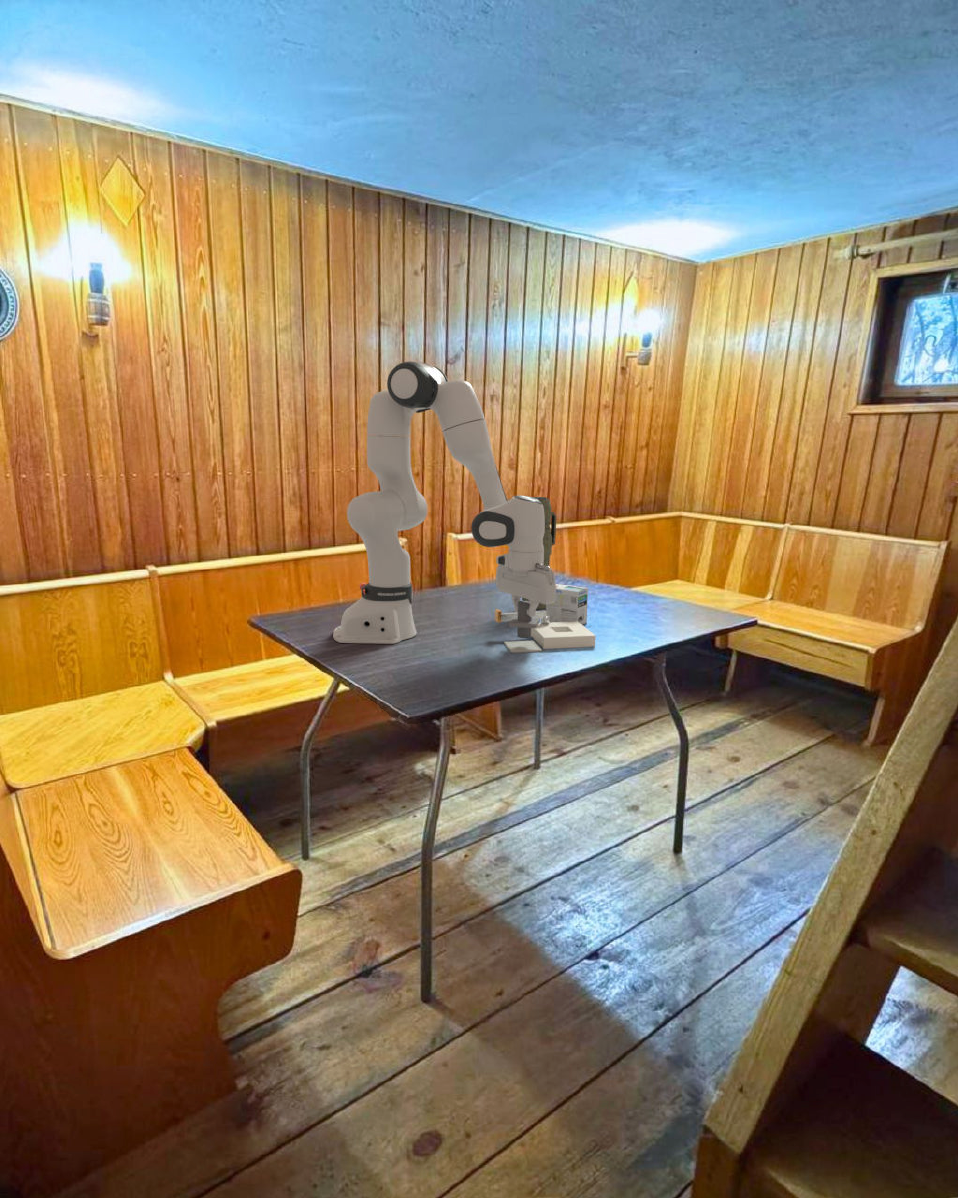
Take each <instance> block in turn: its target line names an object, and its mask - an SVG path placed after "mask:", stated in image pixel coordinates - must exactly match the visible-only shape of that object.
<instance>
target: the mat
mask: <svg viewBox="0 0 958 1198" xmlns="http://www.w3.org/2000/svg"><path fill="white" fill-rule="evenodd" d="M503 643H504V645H505V647H506V648H507V649H508V650H509V652H511V654H515V653H517V654H519V653H535V652H536V653H538V652H543V648H542V647H541V646H540V645H539V644H538V643H537V641H536V640H519V641H518V640H517V641H516V640H513V641H504V642H503Z"/></svg>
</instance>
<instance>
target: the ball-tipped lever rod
mask: <svg viewBox="0 0 958 1198" xmlns="http://www.w3.org/2000/svg"><path fill="white" fill-rule="evenodd" d="M546 613H547V612H546V610H536V612H535V616H534V617H537V618H540V623H542V624H549V623H550V616H546ZM513 616H518V612H515V611H513V612H502V610H500V609H498V608H496V609H495V610H494V621H495V622H497V623H504V622H510V620H511V619H512V617H513Z"/></svg>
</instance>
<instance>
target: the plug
mask: <svg viewBox="0 0 958 1198" xmlns="http://www.w3.org/2000/svg"><path fill="white" fill-rule="evenodd" d="M530 605H531V604H529V601H523V600H520V601H519V602H518V616H513V617H512V619H511V620H510V621H508V627H509V628H511V627H512V628H516V629H517V630H516V631H517V632H516V637H517V638H519V639H530V638H532V636H531V628H537V626H538V624H539V623H541V619H540V618H537V617H529V616H527V615H526V614H527V609H529V607H530Z"/></svg>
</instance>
